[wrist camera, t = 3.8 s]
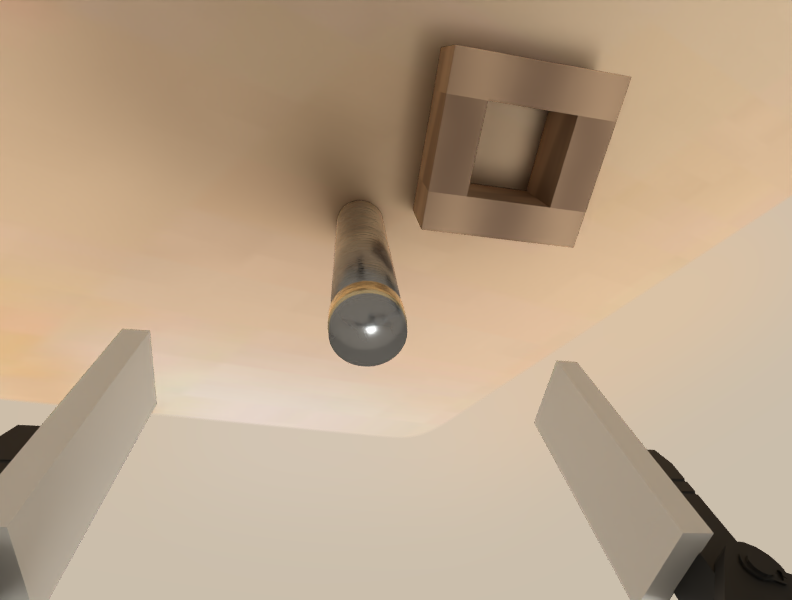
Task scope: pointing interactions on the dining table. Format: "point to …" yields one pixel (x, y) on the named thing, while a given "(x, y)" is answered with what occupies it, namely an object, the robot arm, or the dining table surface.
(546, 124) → the square wooden frame
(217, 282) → the dining table surface
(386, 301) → the metal cylinder
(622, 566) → the robot arm
